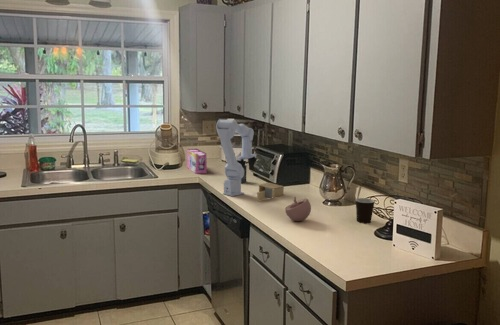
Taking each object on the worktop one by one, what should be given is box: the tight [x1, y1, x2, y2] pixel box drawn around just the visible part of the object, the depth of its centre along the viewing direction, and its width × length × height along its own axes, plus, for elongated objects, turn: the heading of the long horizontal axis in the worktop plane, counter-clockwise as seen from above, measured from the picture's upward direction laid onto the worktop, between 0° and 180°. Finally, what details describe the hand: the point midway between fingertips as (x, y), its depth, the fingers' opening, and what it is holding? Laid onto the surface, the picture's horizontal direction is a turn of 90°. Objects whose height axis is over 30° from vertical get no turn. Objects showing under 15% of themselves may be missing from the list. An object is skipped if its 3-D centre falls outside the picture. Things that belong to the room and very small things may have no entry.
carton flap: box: [256, 187, 275, 202], centre depth 264 cm, size 12×5×7 cm, turn 132°
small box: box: [241, 164, 247, 184], centre depth 308 cm, size 11×6×10 cm, turn 62°
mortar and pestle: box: [284, 196, 312, 222], centre depth 229 cm, size 12×12×12 cm
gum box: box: [186, 148, 208, 175], centre depth 340 cm, size 24×8×14 cm, turn 23°
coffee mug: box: [355, 197, 375, 224], centre depth 230 cm, size 12×9×10 cm
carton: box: [258, 182, 285, 198], centre depth 278 cm, size 8×12×5 cm, turn 44°
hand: (246, 171), depth 290 cm, fingers open, 7 cm apart
